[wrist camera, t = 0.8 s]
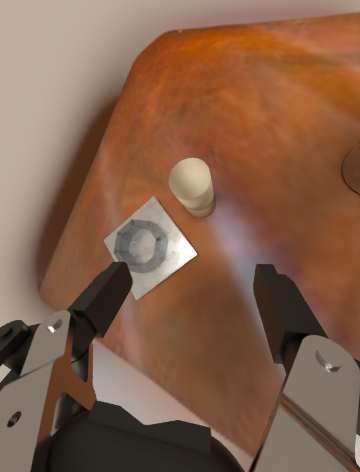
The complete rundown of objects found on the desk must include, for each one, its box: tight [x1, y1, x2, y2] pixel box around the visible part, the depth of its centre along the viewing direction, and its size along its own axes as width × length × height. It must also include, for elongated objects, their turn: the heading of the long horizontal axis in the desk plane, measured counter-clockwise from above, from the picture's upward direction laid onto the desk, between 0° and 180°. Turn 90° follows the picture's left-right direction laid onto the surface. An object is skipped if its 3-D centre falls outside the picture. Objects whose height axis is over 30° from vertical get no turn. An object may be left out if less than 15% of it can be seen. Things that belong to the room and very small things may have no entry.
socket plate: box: [104, 196, 198, 300], centre depth 28 cm, size 14×14×4 cm
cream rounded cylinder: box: [169, 158, 216, 218], centre depth 24 cm, size 5×5×10 cm
